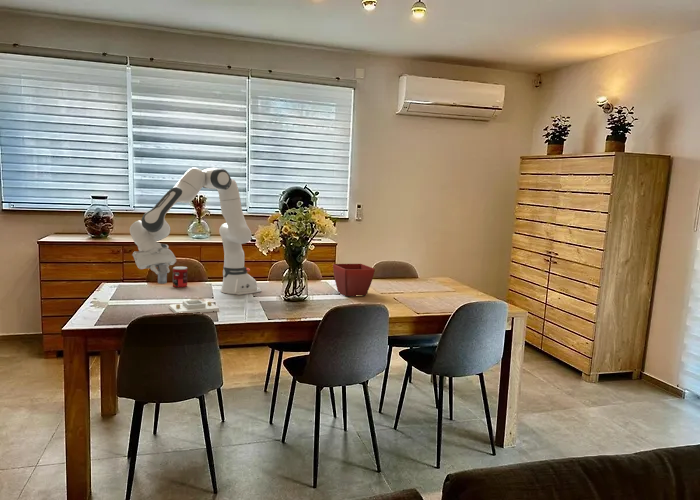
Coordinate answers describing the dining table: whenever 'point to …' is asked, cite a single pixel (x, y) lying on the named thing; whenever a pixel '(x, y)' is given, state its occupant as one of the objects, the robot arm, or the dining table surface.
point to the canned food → (180, 276)
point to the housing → (194, 306)
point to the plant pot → (353, 278)
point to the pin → (162, 273)
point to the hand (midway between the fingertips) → (163, 272)
